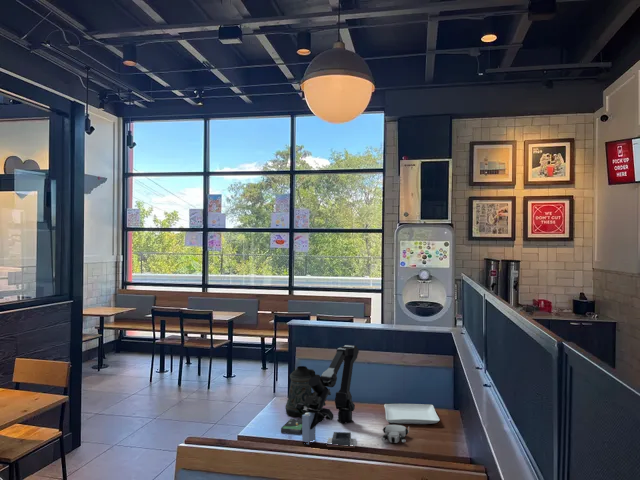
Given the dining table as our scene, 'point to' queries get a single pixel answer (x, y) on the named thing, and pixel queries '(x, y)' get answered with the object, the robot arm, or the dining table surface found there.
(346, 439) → the frame
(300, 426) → the disk drive
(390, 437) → the robot toy
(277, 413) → the dining table surface
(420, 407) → the square plate
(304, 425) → the light blue tall block
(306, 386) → the beer stein
